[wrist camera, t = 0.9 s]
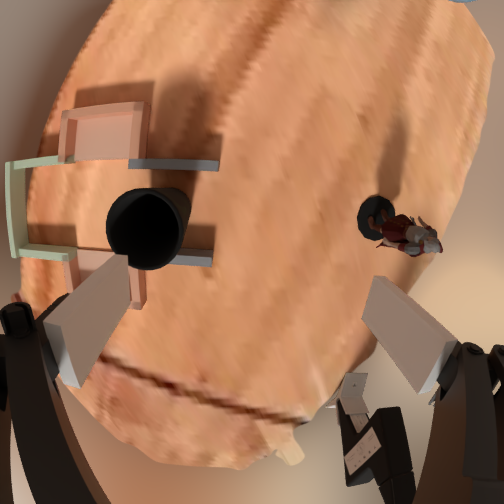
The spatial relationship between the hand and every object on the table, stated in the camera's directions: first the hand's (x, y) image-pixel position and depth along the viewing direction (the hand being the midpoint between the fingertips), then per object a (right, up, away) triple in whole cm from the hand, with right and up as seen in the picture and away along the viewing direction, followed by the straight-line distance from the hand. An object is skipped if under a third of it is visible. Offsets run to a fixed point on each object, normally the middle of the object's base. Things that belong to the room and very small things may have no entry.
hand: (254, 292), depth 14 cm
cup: (-11, +8, +21) cm, 25 cm away
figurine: (+18, +7, +24) cm, 31 cm away
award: (+19, -26, +34) cm, 47 cm away
